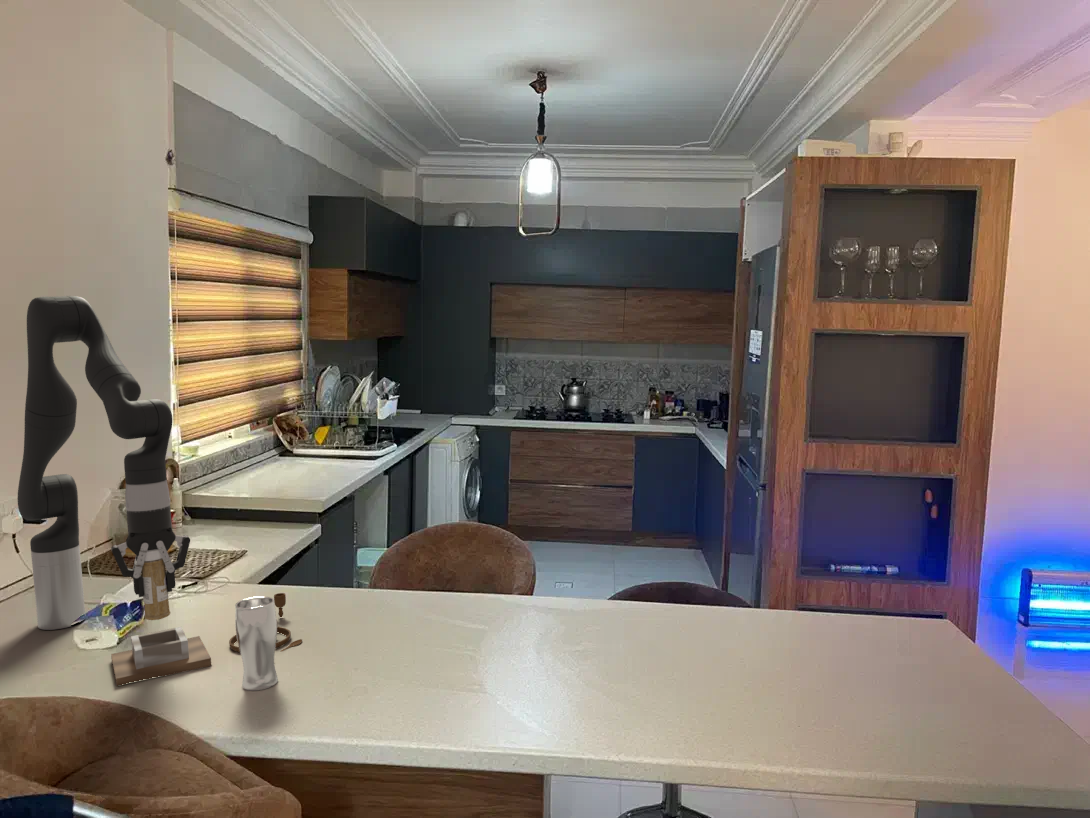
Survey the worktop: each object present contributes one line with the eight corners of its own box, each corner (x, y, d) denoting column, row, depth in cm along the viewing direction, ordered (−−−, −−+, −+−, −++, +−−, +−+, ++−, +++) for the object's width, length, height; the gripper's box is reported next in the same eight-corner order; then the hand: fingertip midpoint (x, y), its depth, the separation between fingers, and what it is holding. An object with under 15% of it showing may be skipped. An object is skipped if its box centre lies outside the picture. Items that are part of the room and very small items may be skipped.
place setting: (206, 649, 165) (204, 620, 165) (279, 617, 183) (277, 591, 182) (269, 662, 157) (267, 632, 157) (339, 627, 175) (338, 601, 174)
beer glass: (242, 695, 141) (236, 611, 140) (237, 680, 148) (231, 600, 146) (283, 686, 145) (278, 604, 143) (277, 672, 151) (271, 593, 149)
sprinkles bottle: (172, 617, 156) (166, 548, 154) (146, 622, 153) (139, 552, 152) (168, 611, 159) (162, 543, 158) (142, 616, 157) (136, 548, 156)
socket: (111, 661, 159) (109, 636, 158) (199, 643, 167) (198, 619, 166) (116, 686, 147) (114, 659, 146) (211, 665, 155) (209, 640, 155)
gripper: (186, 497, 161) (192, 582, 162) (104, 507, 154) (111, 595, 155) (191, 503, 155) (198, 591, 156) (106, 514, 147) (114, 606, 149)
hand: (155, 593), depth 156 cm, fingers closed on sprinkles bottle, 4 cm apart
